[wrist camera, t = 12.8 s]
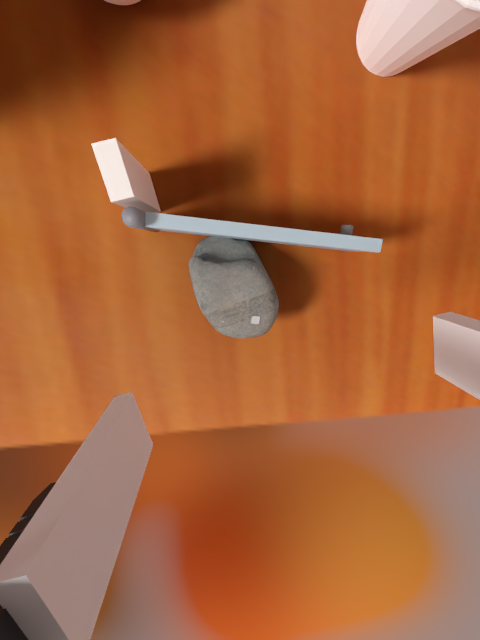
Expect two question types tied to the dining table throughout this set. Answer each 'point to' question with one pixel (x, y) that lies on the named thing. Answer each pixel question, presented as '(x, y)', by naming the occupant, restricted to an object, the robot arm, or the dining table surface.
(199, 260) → the stone
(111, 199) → the tilted pink plank
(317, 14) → the dining table surface
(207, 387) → the dining table surface
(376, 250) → the door
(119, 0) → the ornament
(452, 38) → the cup
